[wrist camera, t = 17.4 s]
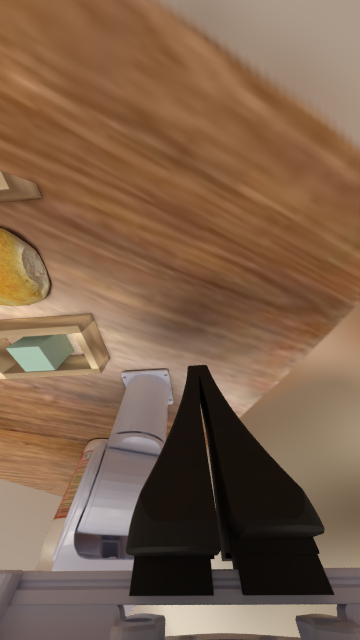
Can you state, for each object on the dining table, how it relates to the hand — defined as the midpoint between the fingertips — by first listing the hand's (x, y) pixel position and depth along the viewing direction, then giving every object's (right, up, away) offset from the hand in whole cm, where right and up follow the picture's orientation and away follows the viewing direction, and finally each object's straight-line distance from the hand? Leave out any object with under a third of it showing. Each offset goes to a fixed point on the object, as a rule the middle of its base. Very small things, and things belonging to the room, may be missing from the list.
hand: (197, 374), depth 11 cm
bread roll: (-21, +10, +6) cm, 24 cm away
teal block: (-20, +1, +11) cm, 23 cm away
